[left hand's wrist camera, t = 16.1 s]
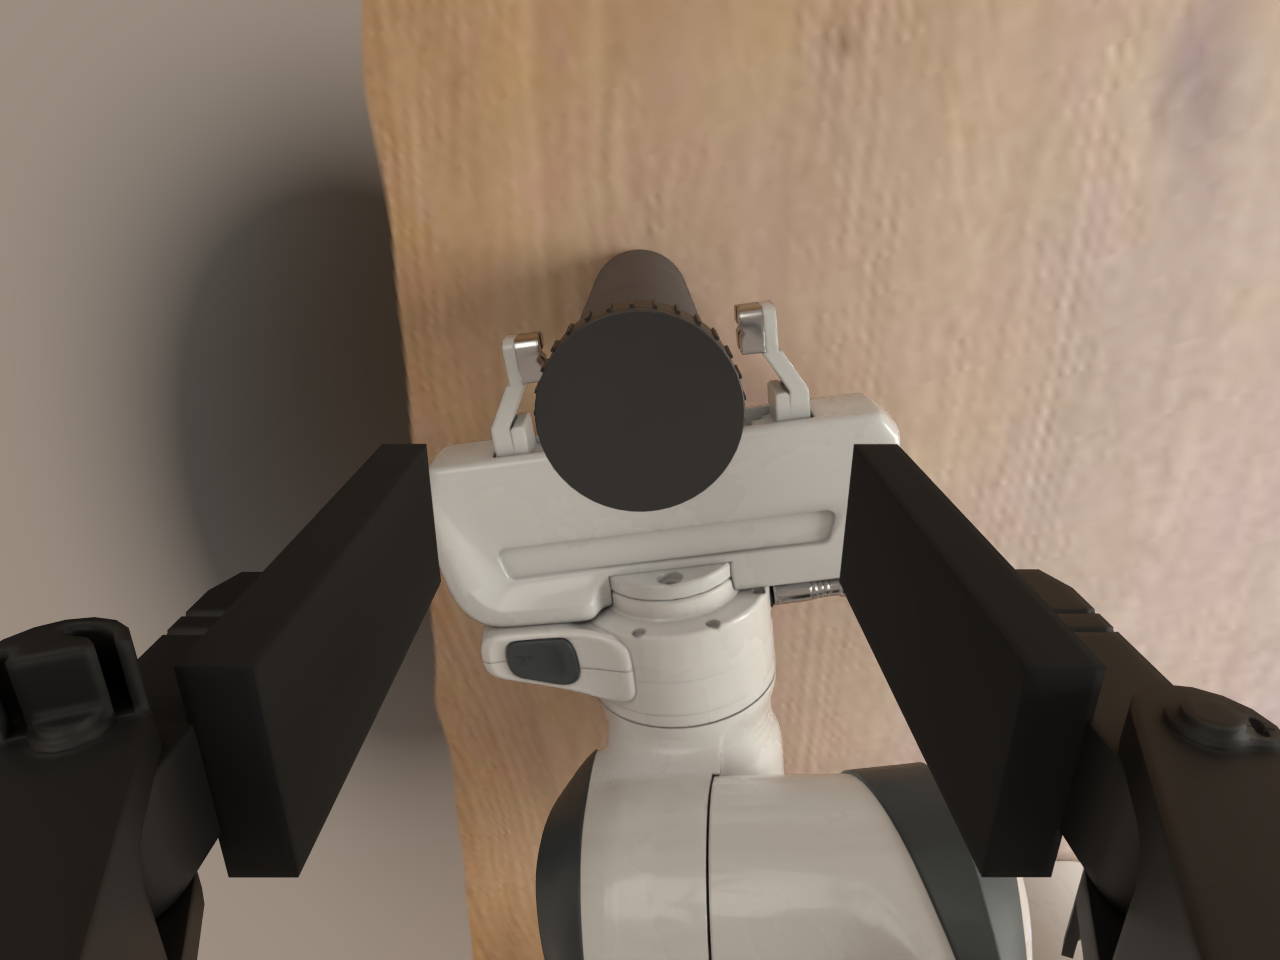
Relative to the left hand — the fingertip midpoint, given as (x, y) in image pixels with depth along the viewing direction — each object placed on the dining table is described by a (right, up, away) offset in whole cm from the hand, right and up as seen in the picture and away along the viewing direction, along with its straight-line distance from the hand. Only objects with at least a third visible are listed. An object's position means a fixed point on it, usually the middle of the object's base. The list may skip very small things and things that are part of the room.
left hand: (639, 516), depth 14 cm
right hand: (0, +7, +17) cm, 19 cm away
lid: (0, +2, +6) cm, 6 cm away
